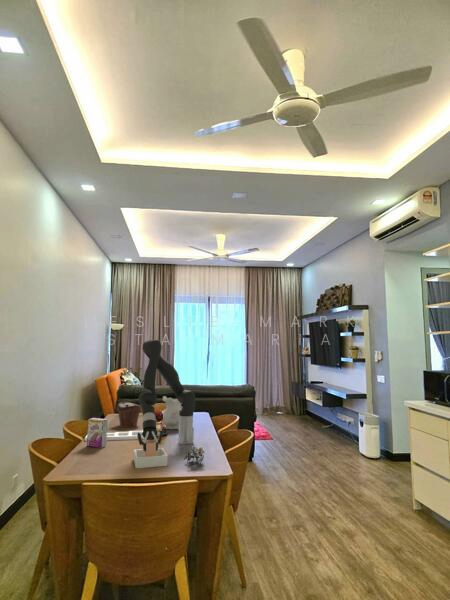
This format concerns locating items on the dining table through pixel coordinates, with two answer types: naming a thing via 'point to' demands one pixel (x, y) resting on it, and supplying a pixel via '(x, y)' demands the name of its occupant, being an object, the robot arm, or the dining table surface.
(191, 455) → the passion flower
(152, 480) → the dining table surface
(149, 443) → the tub
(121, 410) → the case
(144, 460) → the tray
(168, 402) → the ceramic pitcher
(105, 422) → the candy bar box
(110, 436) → the holder
